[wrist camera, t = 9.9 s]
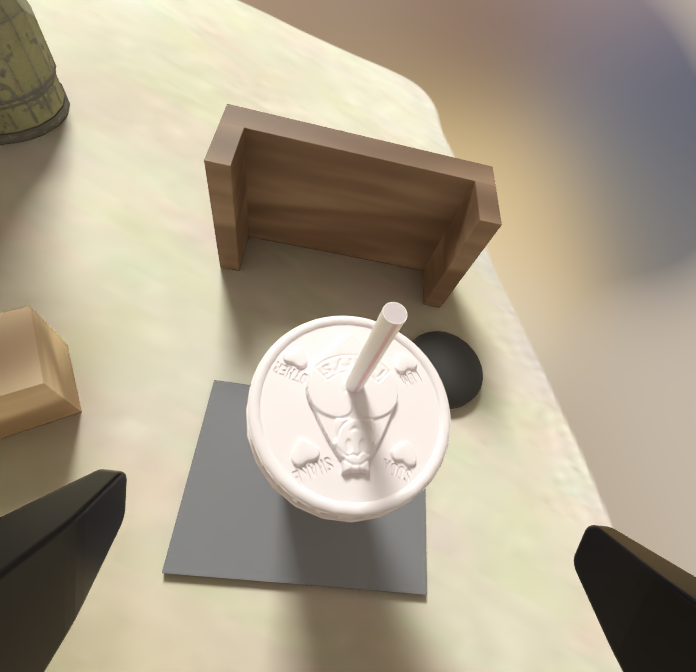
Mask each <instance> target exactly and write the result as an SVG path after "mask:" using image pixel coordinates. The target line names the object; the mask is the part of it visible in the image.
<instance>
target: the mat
mask: <svg viewBox="0 0 696 672" xmlns="http://www.w3.org/2000/svg"><path fill="white" fill-rule="evenodd" d="M250 386H251V385H245V384H238V383H231V382H224V381H217V380H214V383H213V387H212V391H211V394H210V398H209V402H208V405H207V409H206V413H205V416H204V420H203V424H202V427H201V431H200V435H199V438H198V442H197V446H196V449H195V453H194V457H193V460H192V464H191V468H190V471H189V475H188V479H187V483H186V486H185V490H184V494H183V497H182V501H181V505H180V508H179V512H178V516H177V519H176V523H175V527H174V530H173V534H172V538H171V541H170V545H169V549H168V552H167V556H166V560H165V563H164V567H163V571H162V573H168V574H180V575H192V576H205V577H217V578H229V579H241V580H254V581H266V582H278V583H291V584H303V585H315V586H327V587H340V588H352V589H364V590H376V591H389V592H401V593H413V594H425V595H427V579H426V517H425V489H424V490H423V491H422V492H420V493H419V494H418V495H417V496H416V497H415V498H413V499H412V500H411V501H409V502H408V503H406V504H405V505H403V506H401V507H399V508H397V509H396V510H394V511H392V512H390V513H388V514H386V515H384V516H382V517H380V518H374V519H369V520H363V521H357V522H344V521H336V520H328V519H322V518H320V517H317V516H315V515H313V514H311V513H308V512H306V511H304V510H302V509H299V508H297V507H295V506H294V505H293V504H291V503H290V502H289V501H288V500H287V499H285V498H284V497H283V496H282V495H281V494H279V493H278V492H277V491H276V490H275V489H274V488H272V486H271V485H270V483H269V482H268V480H267V479H266V477H265V476H264V474H263V473H262V471H261V470H260V468H259V467H258V465H257V464H256V462H255V459H254V455H253V452H252V449H251V446H250V443H249V440H248V437H247V419H246V408H247V403H248V395H249V389H250Z"/></svg>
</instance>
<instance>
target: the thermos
mask: <svg viewBox="0 0 696 672" xmlns="http://www.w3.org/2000/svg"><path fill="white" fill-rule="evenodd" d="M55 69H56V64H55V62H54V60H53V57H52V55H51V53H50V50H49V48H48V46H47V43H46V41H45V39H44V36H43V34H42V32H41V29H40V27H39V25H38V22H37V20H36V18H35V15H34V13H33V11H32V8H31V6H30V5H29V3H28V2H27V0H0V144H8V143H15V142H22V141H26V140H29V139H32V138H35V137H38V136H41V135H44V134H46V133H47V132H49V131H51V130H52V129H54V128H55V127H57V126H59V125H60V123H61V122H62V121H63V120H64V118H65V117H66V116H67V115H68V110H69V104H70V103H69V100H68V98H67V96H66V93H65V91H64V89H63V86H62V84H61V83H60V82H59V80H58V78H57V75H56V70H55Z"/></svg>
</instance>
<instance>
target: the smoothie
mask: <svg viewBox="0 0 696 672" xmlns="http://www.w3.org/2000/svg"><path fill="white" fill-rule="evenodd" d="M406 319H407V311H406V309H405V307H404V306H402V305H401V304H399V303H397V302H389V303H387V304H385V306H384V307H383V309H382V311H381V313H380V315H379V317H378V319H377V321H373V320H370V319H366V318H361V317H355V316H330V317H323V318H319V319H315V320H312V321H309V322H306V323H304V324H302V325H299V326H297V327H296V328H294V329H292V330H290V331H289V332H288V333H286V334H285V335H283V336H282V337H281V338H280V339H279V340H277V341H276V342H275V343H274V344H273V345H272V346H271V347H270V349H269V350H268V351H267V352H266V354H265V355H264V357H263V358H262V360H261V361H260V363H259V365H258V367H257V369H256V371H255V373H254V376H253V379H252V382H251V386H250V389H249V395H248V403H247V408H246V419H247V437H248V440H249V443H250V446H251V449H252V452H253V455H254V459H255V462H256V464H257V465H258V467H259V468H260V470H261V471H262V473H263V474H264V476H265V477H266V479H267V480H268V482H269V483H270V485H271V486H272V488H274V489H275V490H276V491H277V492H278V493H279V494H281V495H282V496H283V497H284V498H285V499H287V500H288V501H289V502H290V503H291V504H293V505H294V506H295V507H297V508H299V509H302V510H304V511H306V512H308V513H311V514H313V515H315V516H317V517H320V518H322V519H328V520H336V521H344V522H357V521H363V520H369V519H374V518H380V517H382V516H384V515H386V514H388V513H390V512H392V511H394V510H396V509H397V508H399V507H401V506H403V505H405V504H406V503H408V502H409V501H411V500H412V499H413V498H415V497H416V496H417V495H418V494H419V493H420V492H422V491H423V490H424V489H425V488H426V486H427V485H428V484H429V483H430V482H431V481H432V479H433V478H434V476H435V475H436V473H437V472H438V470H439V468H440V466H441V464H442V462H443V459H444V457H445V454H446V451H447V447H448V443H449V437H450V427H451V423H450V409H449V403H448V398H447V395H446V392H445V388H444V386H443V383H442V381H441V379H440V377H439V375H438V373H437V371H436V369H435V368H434V366H433V365H432V363H431V362H430V360H429V359H428V358H427V356H426V355H425V354H424V353H423V352H422V351H421V350H420V349H419V348H418V347H417V346H416V345H415V344H414V343H413V342H412V341H410V340H409V339H408V338H407V337H405V336H404V335H402V334H401V333H400V332H399V330H400V329H401V327H402V326H403V324H404V322H405V321H406Z"/></svg>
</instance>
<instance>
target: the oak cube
mask: <svg viewBox="0 0 696 672" xmlns="http://www.w3.org/2000/svg"><path fill="white" fill-rule="evenodd" d="M79 412H82V411H81V407H80V402H79V397H78V393H77V388H76V383H75V378H74V374H73V369H72V364H71V359H70V355H69V350H68V345H67V344H66V343H65V342H64V341H63V340H62V339H61V338H60V337H59V336H58V335H57V334H56V333H55V332H54V331H53V329H52V328H51V327H50V326H49V325H48V324H47V323H46V322H45V321H44V320H43V319H42V318H41V317H40V316H39V315H38V314H37V313H36V312H35V311H34V310H33V309H32V308H31V307H30V306H27V307H23V308H19V309H14V310H10V311H6V312H2V313H0V439H1V438H4V437H7V436H10V435H13V434H16V433H19V432H22V431H25V430H28V429H31V428H34V427H37V426H40V425H43V424H46V423H49V422H52V421H55V420H58V419H61V418H64V417H67V416H70V415H73V414H76V413H79Z"/></svg>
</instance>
